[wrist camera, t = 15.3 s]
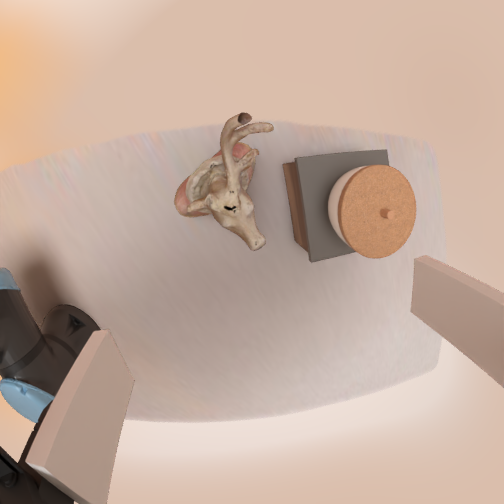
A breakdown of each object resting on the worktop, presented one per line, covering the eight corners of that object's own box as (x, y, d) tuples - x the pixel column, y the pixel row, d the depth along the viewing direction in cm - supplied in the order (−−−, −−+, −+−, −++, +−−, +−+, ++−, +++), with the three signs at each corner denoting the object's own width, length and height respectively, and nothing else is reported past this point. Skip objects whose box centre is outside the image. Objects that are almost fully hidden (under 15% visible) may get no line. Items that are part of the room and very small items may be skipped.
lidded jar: (308, 171, 33) (340, 171, 24) (377, 160, 33) (420, 160, 24) (322, 250, 36) (353, 274, 27) (386, 232, 37) (426, 249, 28)
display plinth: (292, 244, 46) (311, 262, 36) (279, 161, 42) (296, 157, 32) (363, 228, 47) (394, 242, 37) (355, 152, 43) (386, 149, 33)
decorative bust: (254, 240, 44) (271, 276, 19) (182, 208, 42) (111, 204, 18) (282, 179, 42) (334, 138, 18) (210, 147, 41) (176, 74, 16)
